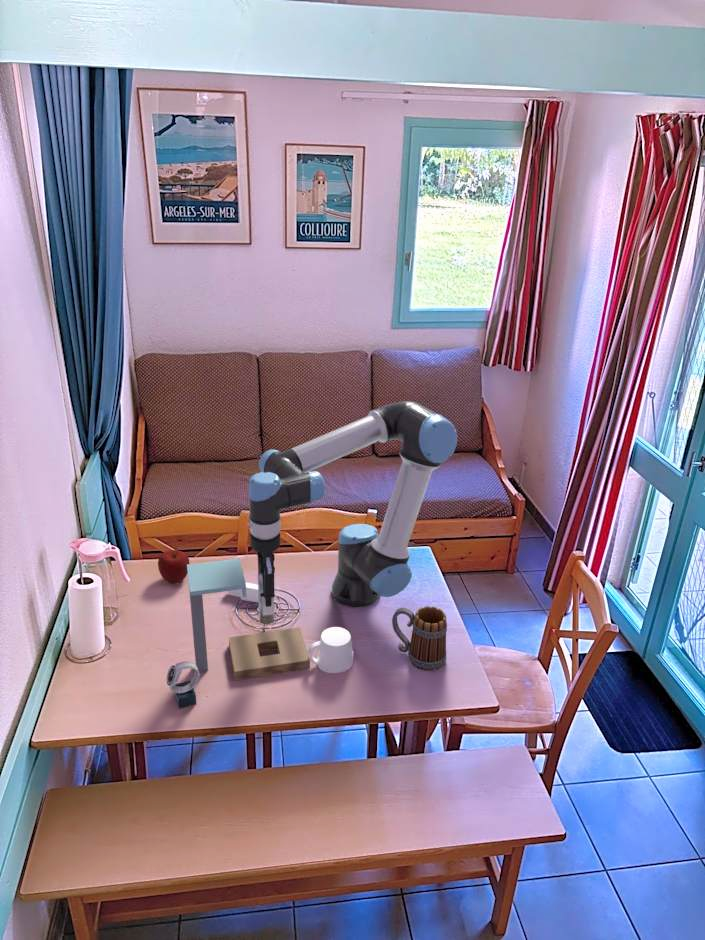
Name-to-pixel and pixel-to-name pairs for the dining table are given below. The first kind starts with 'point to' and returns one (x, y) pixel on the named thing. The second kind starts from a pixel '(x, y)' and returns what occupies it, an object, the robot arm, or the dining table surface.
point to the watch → (183, 684)
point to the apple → (173, 566)
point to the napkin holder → (247, 593)
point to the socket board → (253, 665)
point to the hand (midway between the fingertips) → (266, 608)
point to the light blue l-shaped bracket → (204, 582)
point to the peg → (266, 618)
